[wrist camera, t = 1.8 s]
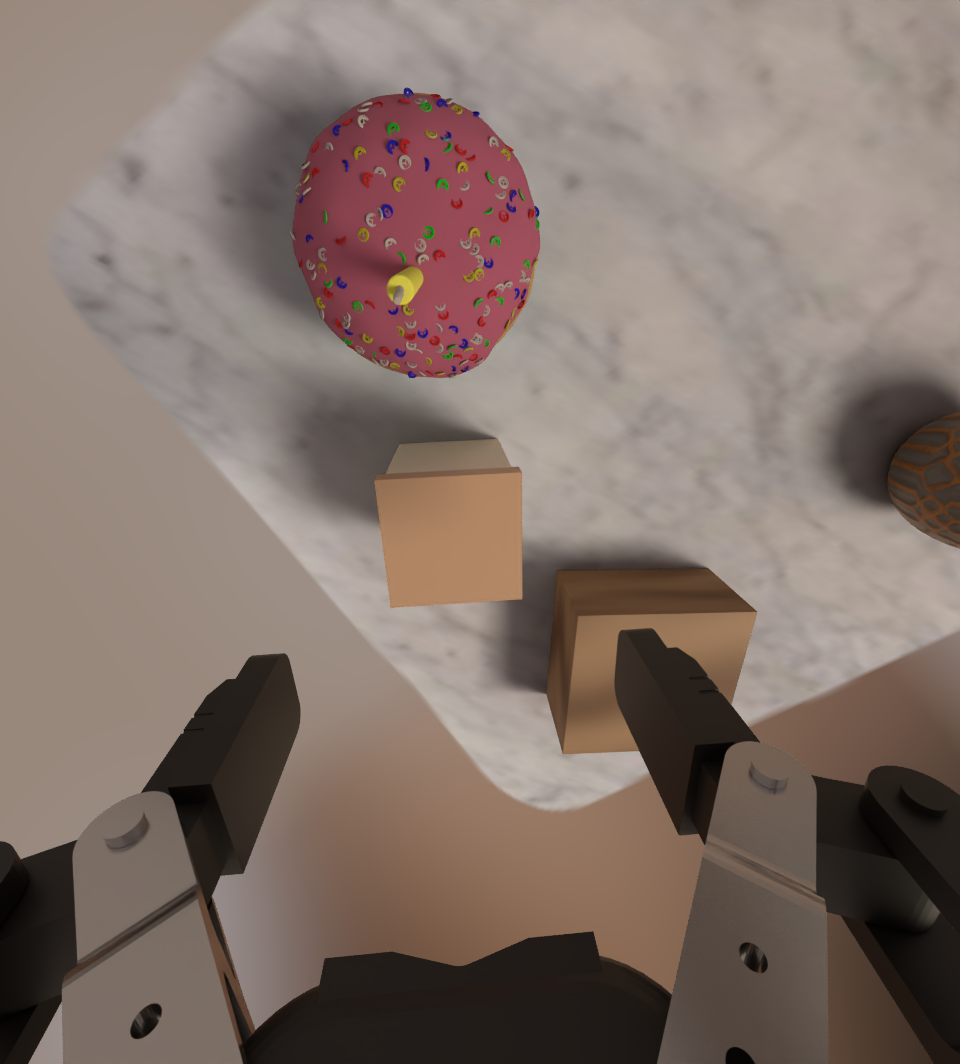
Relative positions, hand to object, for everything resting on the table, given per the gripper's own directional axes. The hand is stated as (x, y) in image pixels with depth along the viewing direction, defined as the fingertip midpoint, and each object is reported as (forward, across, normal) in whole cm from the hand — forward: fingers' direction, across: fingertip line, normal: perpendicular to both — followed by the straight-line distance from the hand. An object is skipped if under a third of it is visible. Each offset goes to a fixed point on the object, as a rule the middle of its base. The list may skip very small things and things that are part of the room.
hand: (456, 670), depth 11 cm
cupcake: (+14, 0, -10) cm, 18 cm away
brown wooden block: (+15, -10, +10) cm, 20 cm away
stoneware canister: (+14, 0, 0) cm, 15 cm away
